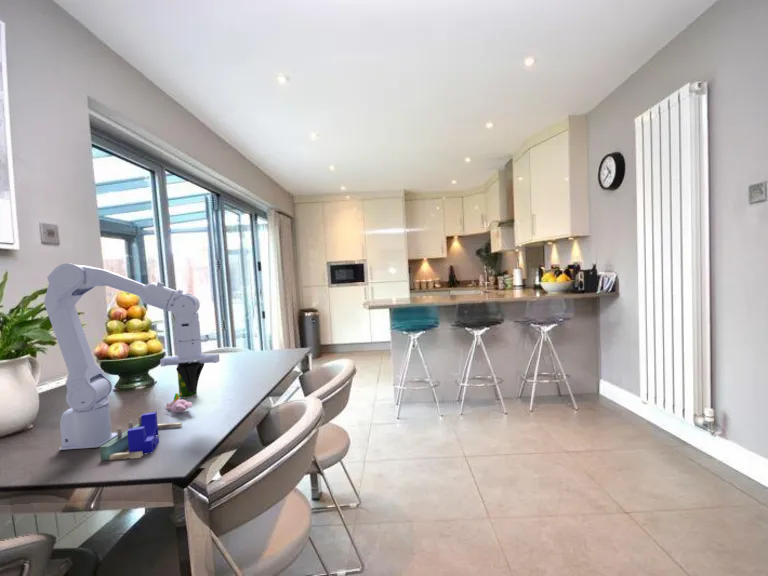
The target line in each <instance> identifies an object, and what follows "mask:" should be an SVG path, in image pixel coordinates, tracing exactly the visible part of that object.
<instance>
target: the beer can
mask: <svg viewBox="0 0 768 576" xmlns="http://www.w3.org/2000/svg"><path fill="white" fill-rule="evenodd" d="M190 362H194V361H190ZM178 366H179V365H176V368H178ZM177 381H178V382H177V383H178V394H179V396H180V398H179V399H180V400H188V398H189V399H192V398H195V397H197V395H198V392H197V391H198V389H197V390H196V391H194V392H188V390H187V387H186V385H185V382H184V380H183V379H182V377H181V375H180V374H179V373H178V372H177Z"/></svg>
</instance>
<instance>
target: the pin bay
mask: <svg viewBox="0 0 768 576" xmlns="http://www.w3.org/2000/svg"><path fill="white" fill-rule="evenodd" d="M127 424H128V429H127V430H125V431H124V432H122V427H118V428H117V429H116V433H117V435H118V436H116V437H115V438H113V439H112V440H110V441H108V442H107V443H105V444H103V445H102V446H100V447H99V452H100V453H99V455H100V461H111V460H113V461H114V460H128V459H127V458H130V459H139V458H142V457H143V456H144V454H143V451H138V452H129V451H126V450H127V449H129V445H128V433H127V431H128V430H129V429H130V428H137V427H141V415H139V416H138V423H137V424H135V425H133V421H129V422H128V423H127ZM157 424H158V428H166V429H173V428H172V427H180V428H182V427H183V423H182V422H169V423H168V422H167V423H157ZM126 448H127V449H126ZM122 451H123V452H122ZM125 451H126V452H125ZM141 456H142V457H141Z"/></svg>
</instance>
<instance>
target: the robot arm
mask: <svg viewBox="0 0 768 576" xmlns="http://www.w3.org/2000/svg"><path fill="white" fill-rule="evenodd" d="M47 282H48V285H47V290H46V293H45V297H44V302H43V303H44V307H45V309H46V312H47V315H48V319H49V321H50V323H51V326H52V329H53V332H54V335H55V338H56V340H57V344H58V346H59V349H60V352H61V355H62V357H63V361H64V363H65V366H66V369H67V372H68V374H67V378H66V380H65V387H66V395H65V402H66V404H67V405H68V406H69V408H68V409H66V410H65V411H64V412H63V413H62V414H61V418H60V422H59V430H60V439H61V446H60V447H59V449H58V450H59V451H65V450H78V449H80V450H81V449H93V448H94V449H95V448H100V447H101V446H102V445H104V444H106V443H107V442H109V441H111V440H112V439H114V438H116V437H117V436H118V435H117V432H113V431H112V422H111V420H112V419H111V409H110V408H111V407H110V406H111V405H110V399H108V396H109V395H110V394H111V393H112V391H113V384H112V382H111V380H110V379H109V378H108V377H106V375H105V374H104V371H103V369H102V368H100V366H98V365H97V364H96V363H95V359H94V356H93V354H92V351H91V348H90V344H89V342H88V339H87V337H86V333H85V330H84V328H83V325H82V322H81V319H80V316H79V314H78V311H77V308H76V304H77V303H78V302H79V300H80V299H81V298H82V297H83V296H84V295H85V294H86V293H88V292H89V291H92V290H93V289H94V288H95V287H109V288H113V289H116V290H119V291H123V292H126V293H128V294H132V295H135V296H138V297H140V300H141V301H142V303H143V304H146V305H148V306H151V307H154V308H158V309H161V310H162V311H163V310H164V311H166V312H172V315H174V320H175V324H174V327H175V330H174V331H175V340H176V341H175V344H176V355H177V356H170V357H163V358H161V359H159V360H160V362H159V363H160V367H166V366H167V367H168V366H177V365H179V366H178V368H177V367H176V369H175V370H176V372H177V374H178V373H179V374H180V375H181V377H182V379H183V380H184V382H185V385H186V387H187V390H188V392H194V391H196V390H197V391H198V385H199V379H200V376H201V373H202V371H203V369H204V366H205V364H209V363H211V364H212V363H213V364H217V363H218V362H220V354H219V353H216V354H213V353H211V354H210V353H209V354H206V353H202V352H203V351H202V339H201V328H200V327H201V326H200V324H201V323H200V321H199V320H200V318H199V317H200V316H199V312H198V311H199V310H200V307H201V306H200V300H199V299H198V298H197V297H196V296H194V295H193V294H191V293H185V294H183V292H184V291H183V290H181V289H178V290H175V289H174V288H172V287H171V288H170V287H167V286H165V283H164V282H161V281H158V282H154V281H153V282H150V283H148V284H144V283H142V282H139V281H137V280H134V279H132V278H129V277H126V276H125V275H121V274H119V273H116V272H114V271H111V270H108V269H103V268H99V267H93V266H91V265H89V264H88V265H87V264H83V265H81V264H74V263H67V262H66V263H62V264H59V265H58V266H56V267H55V268H54V269H53V270H52V271H51V272H50V274H49V275H48V276H47ZM190 361H194V362H190Z"/></svg>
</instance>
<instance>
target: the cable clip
mask: <svg viewBox="0 0 768 576" xmlns="http://www.w3.org/2000/svg"><path fill="white" fill-rule="evenodd" d="M140 416H141V427H137V428H130V429H129V428H128V429H127V430H128V431H127V430H126V431H127V433H128V445H129V447H128V452H138V451H143V455H146V454H145V453H148V454H152V453H151V452H153V453H154V451H155V450H156V448H157V446H158V445H159V443H160V437H159V436H157V437H156V435H159V429H158V424H159V423H158V414H157V411H152V412H146V413H142V414H141V415H140ZM154 449H155V450H154Z"/></svg>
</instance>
